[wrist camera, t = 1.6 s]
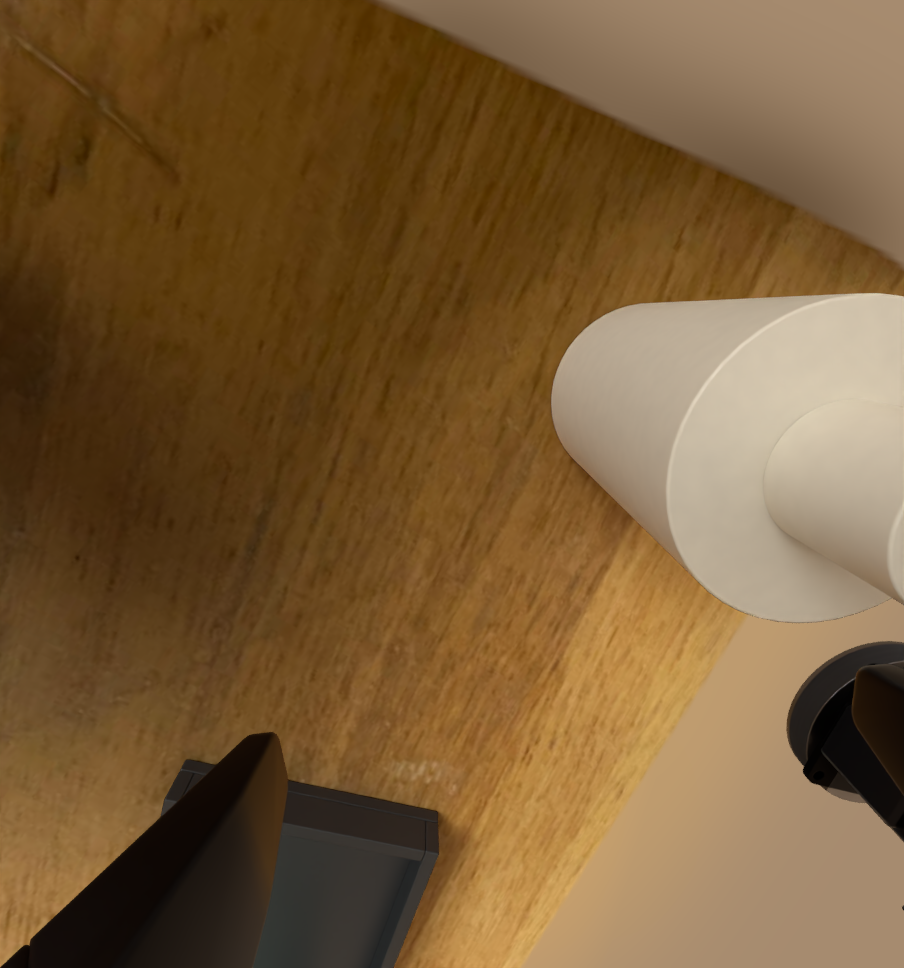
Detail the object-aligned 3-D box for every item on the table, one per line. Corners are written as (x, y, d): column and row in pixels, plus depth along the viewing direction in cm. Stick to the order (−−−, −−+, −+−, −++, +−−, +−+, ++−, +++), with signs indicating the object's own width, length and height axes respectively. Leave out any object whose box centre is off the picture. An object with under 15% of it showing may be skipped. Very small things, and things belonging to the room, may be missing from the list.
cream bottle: (757, 336, 20) (1338, 376, 7) (682, 502, 21) (1045, 767, 9) (589, 277, 19) (915, 206, 6) (525, 454, 20) (682, 673, 8)
